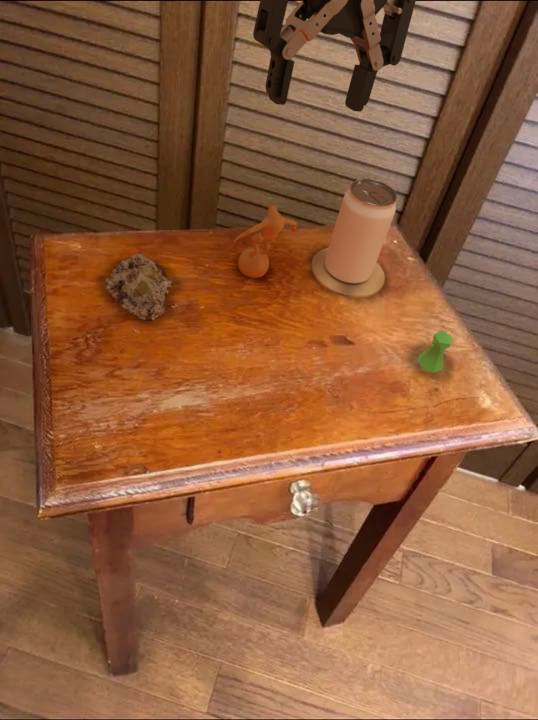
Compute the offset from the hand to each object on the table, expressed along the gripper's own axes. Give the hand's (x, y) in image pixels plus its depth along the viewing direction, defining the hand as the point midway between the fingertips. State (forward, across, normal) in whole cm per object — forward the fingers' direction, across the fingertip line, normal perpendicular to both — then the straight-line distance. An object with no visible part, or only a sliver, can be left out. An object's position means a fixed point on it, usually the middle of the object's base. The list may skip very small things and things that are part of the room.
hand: (316, 105), depth 55 cm
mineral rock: (+26, -12, +9) cm, 30 cm away
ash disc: (+23, +15, +6) cm, 28 cm away
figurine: (+24, +2, +8) cm, 26 cm away
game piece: (+26, +17, -11) cm, 33 cm away
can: (+22, +15, +6) cm, 27 cm away
